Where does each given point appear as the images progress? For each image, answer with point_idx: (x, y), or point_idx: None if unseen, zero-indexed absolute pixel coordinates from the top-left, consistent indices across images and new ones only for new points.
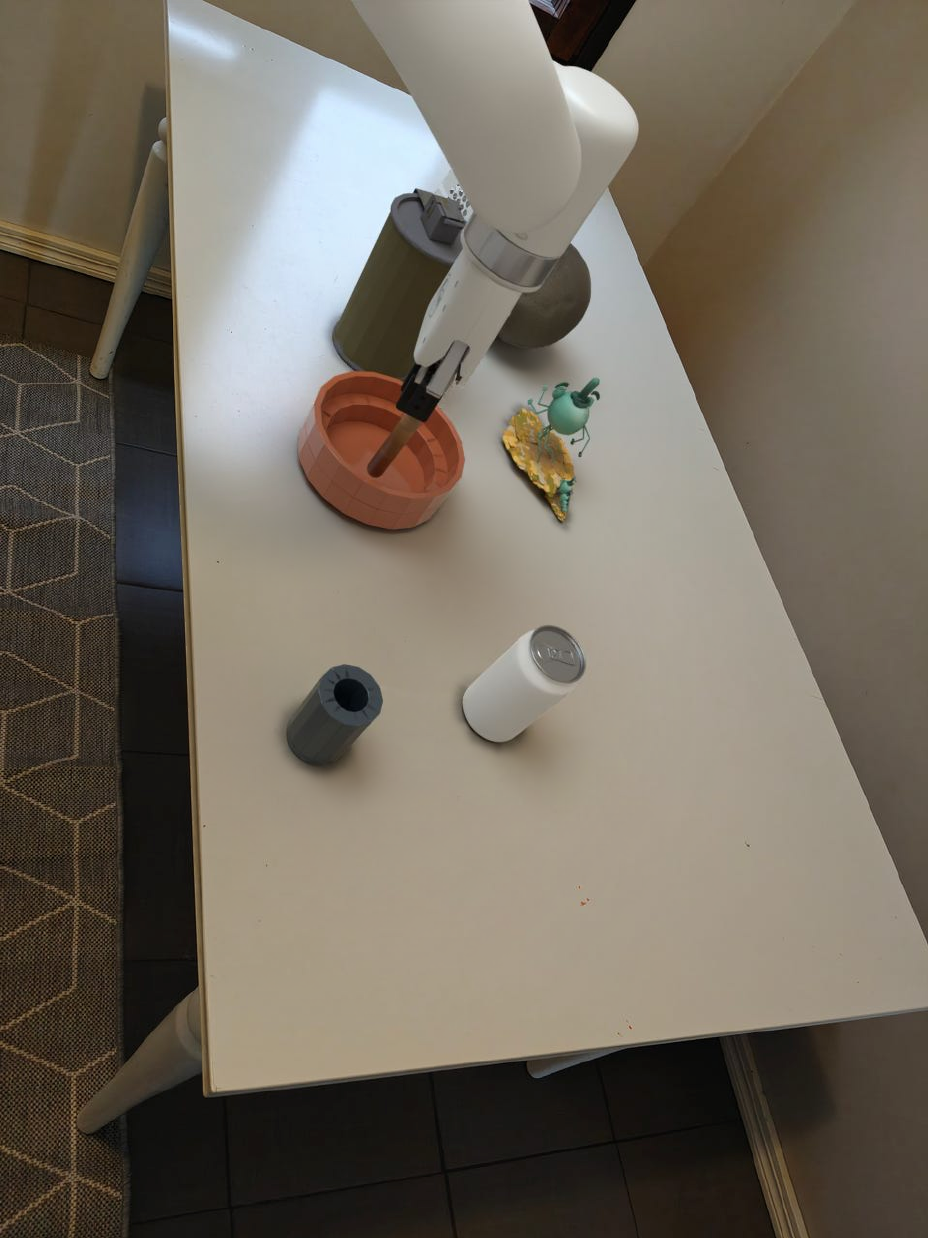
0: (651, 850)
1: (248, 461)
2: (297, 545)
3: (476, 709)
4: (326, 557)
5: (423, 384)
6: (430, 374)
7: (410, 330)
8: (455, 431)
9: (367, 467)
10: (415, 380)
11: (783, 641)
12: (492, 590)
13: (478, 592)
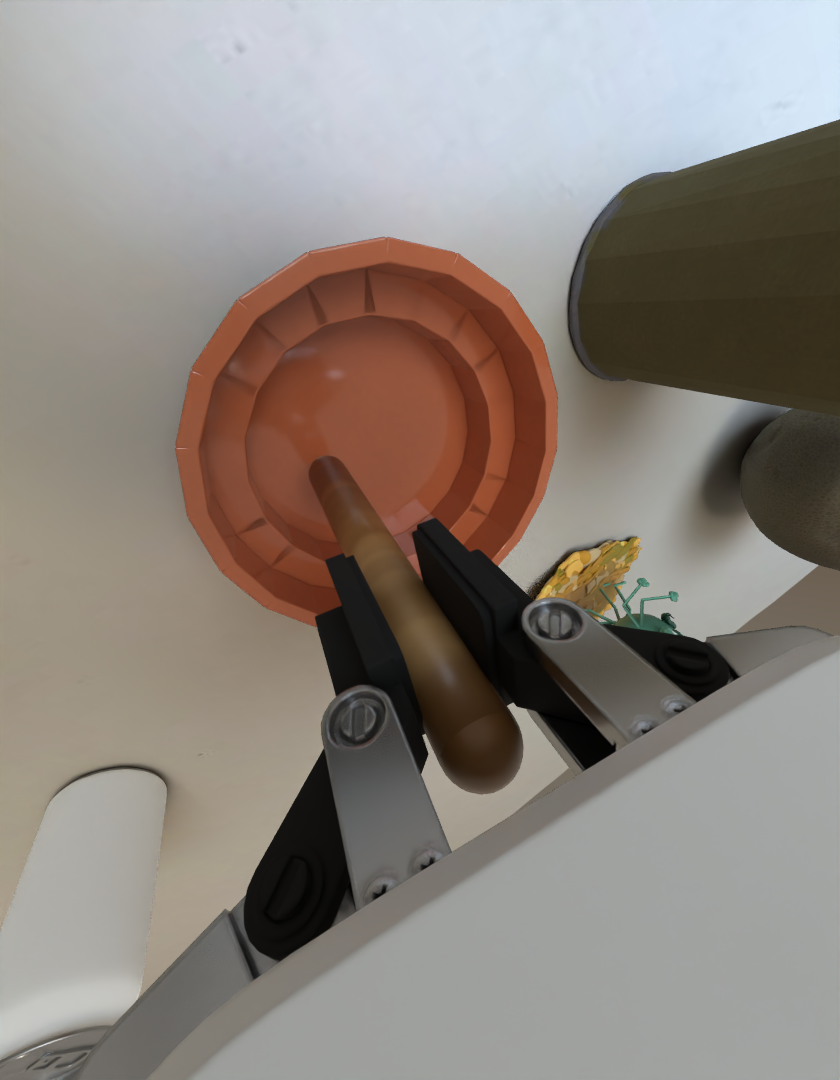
0: (149, 931)
1: (107, 181)
2: (23, 438)
3: (37, 835)
4: (74, 499)
5: (285, 820)
6: (278, 958)
7: (698, 356)
8: (503, 555)
9: (315, 460)
10: (326, 723)
11: (501, 820)
12: (313, 684)
13: (291, 678)
